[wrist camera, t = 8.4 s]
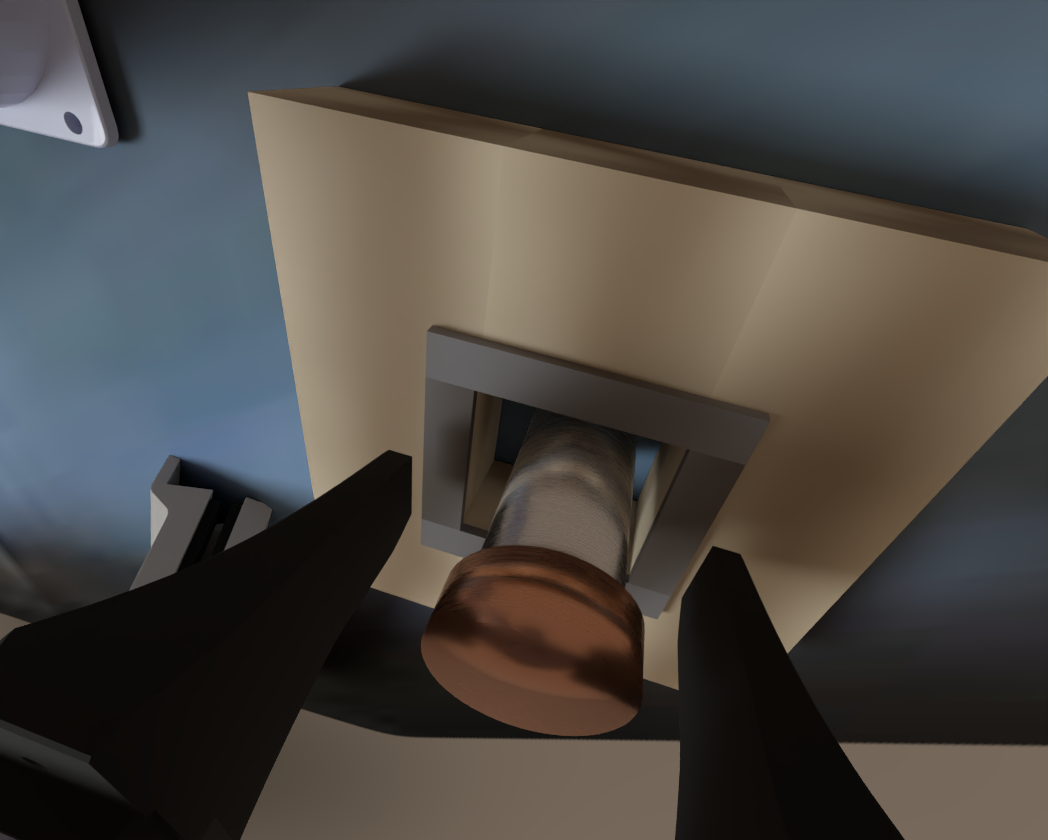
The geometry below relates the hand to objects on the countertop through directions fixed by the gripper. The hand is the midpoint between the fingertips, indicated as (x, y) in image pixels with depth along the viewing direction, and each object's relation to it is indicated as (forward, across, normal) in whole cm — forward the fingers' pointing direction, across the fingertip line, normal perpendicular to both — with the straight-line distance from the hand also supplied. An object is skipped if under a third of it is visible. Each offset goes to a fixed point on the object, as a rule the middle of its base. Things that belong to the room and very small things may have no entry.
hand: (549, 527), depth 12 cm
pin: (+4, 0, 0) cm, 4 cm away
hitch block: (+4, 0, 0) cm, 4 cm away
